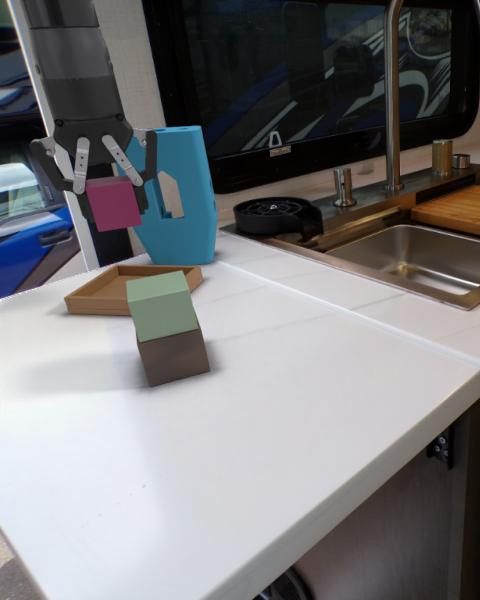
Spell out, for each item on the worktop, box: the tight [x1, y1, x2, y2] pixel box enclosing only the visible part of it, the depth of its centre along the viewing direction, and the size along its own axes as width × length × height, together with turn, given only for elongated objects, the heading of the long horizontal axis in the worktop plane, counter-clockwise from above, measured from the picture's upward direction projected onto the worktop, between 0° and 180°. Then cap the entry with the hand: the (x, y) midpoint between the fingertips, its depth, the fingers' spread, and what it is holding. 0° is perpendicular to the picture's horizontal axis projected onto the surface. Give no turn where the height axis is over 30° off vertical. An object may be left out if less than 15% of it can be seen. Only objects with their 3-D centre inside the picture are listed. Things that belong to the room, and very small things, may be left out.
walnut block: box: [134, 306, 211, 388], centre depth 55 cm, size 6×6×5 cm
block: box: [114, 125, 219, 266], centre depth 79 cm, size 12×5×20 cm, turn 102°
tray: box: [63, 263, 204, 316], centre depth 72 cm, size 13×11×2 cm
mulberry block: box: [85, 175, 142, 233], centre depth 66 cm, size 5×5×6 cm
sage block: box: [126, 270, 198, 343], centre depth 53 cm, size 6×6×4 cm
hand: (118, 216), depth 67 cm, fingers closed on mulberry block, 5 cm apart
